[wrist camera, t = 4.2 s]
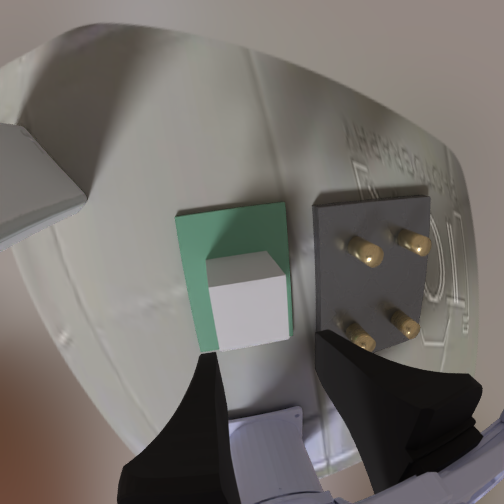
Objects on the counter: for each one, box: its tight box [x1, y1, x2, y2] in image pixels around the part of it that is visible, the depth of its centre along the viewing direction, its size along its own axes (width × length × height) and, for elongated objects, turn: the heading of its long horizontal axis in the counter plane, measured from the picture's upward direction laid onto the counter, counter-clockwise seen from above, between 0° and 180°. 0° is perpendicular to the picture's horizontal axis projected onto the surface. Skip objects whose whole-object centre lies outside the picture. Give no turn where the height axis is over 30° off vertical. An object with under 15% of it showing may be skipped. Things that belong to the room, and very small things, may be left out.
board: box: [175, 202, 293, 352], centre depth 18 cm, size 10×7×5 cm
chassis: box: [312, 195, 431, 353], centre depth 21 cm, size 13×10×4 cm
